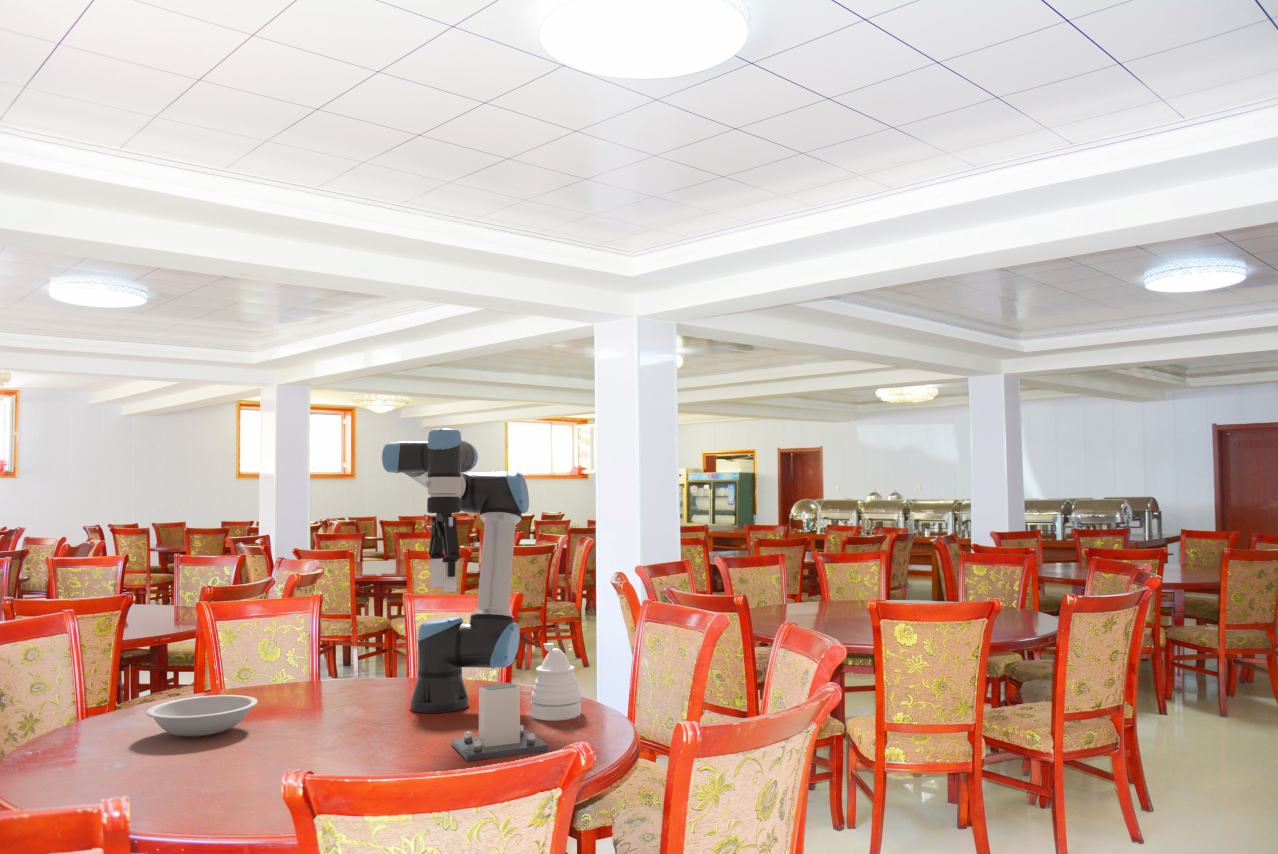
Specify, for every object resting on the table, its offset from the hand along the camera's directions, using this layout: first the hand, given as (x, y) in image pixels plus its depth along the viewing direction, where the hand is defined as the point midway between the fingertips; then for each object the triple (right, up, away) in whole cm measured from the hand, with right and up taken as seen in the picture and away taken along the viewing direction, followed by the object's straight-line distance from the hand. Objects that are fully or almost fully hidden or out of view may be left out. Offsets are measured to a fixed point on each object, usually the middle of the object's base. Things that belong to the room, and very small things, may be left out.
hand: (443, 589), depth 203 cm
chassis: (+14, -34, -5) cm, 37 cm away
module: (+14, -33, -5) cm, 36 cm away
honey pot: (+23, -37, +25) cm, 51 cm away
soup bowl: (-60, -37, +10) cm, 71 cm away
